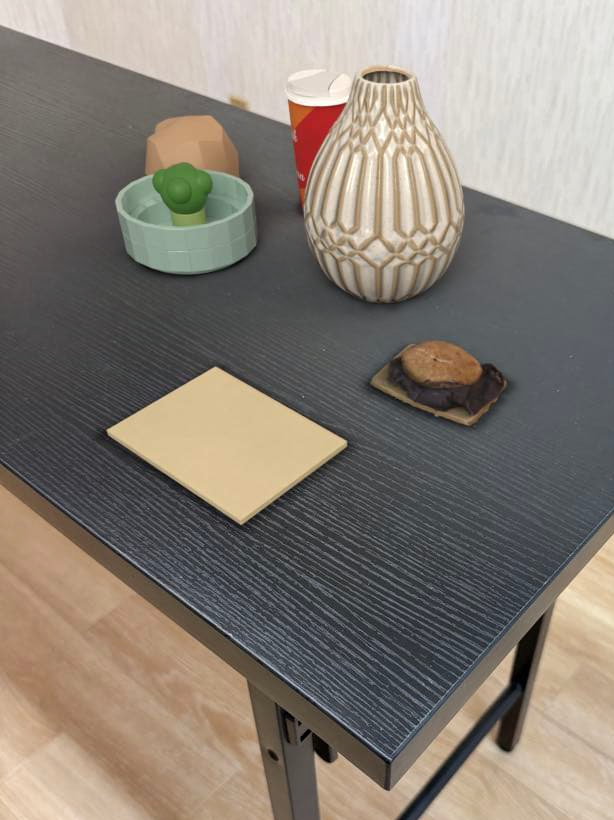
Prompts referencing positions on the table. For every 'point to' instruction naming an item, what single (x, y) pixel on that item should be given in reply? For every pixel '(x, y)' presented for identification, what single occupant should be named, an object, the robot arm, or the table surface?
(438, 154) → the vase
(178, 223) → the broccoli
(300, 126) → the paper cup
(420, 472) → the table surface
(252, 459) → the mat
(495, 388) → the brown round-topped food
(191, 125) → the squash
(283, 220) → the table surface
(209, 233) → the bowl
